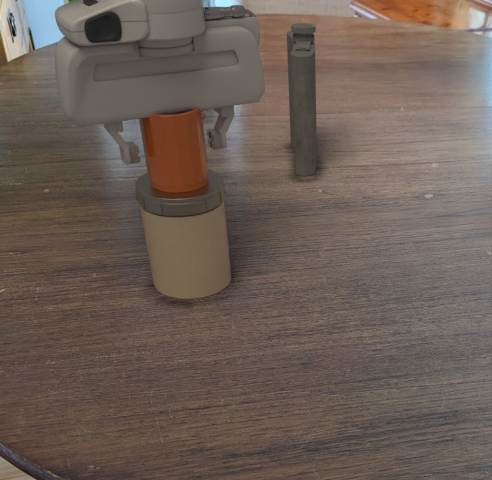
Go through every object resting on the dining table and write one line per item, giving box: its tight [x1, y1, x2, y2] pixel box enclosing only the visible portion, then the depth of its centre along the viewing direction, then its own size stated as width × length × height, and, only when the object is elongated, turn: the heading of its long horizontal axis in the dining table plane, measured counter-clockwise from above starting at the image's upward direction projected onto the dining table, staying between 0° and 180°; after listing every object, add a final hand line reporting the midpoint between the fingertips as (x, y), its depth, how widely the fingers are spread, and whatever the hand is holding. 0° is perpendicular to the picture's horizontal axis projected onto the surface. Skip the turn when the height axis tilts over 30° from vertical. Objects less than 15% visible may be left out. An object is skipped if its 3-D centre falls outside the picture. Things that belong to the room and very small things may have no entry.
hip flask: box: [286, 22, 318, 177], centre depth 112 cm, size 16×4×20 cm, turn 9°
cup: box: [138, 108, 209, 193], centre depth 76 cm, size 6×6×8 cm
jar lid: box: [134, 168, 226, 216], centre depth 79 cm, size 9×9×2 cm
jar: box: [139, 199, 232, 300], centre depth 82 cm, size 9×9×12 cm
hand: (175, 154), depth 77 cm, fingers open, 8 cm apart
